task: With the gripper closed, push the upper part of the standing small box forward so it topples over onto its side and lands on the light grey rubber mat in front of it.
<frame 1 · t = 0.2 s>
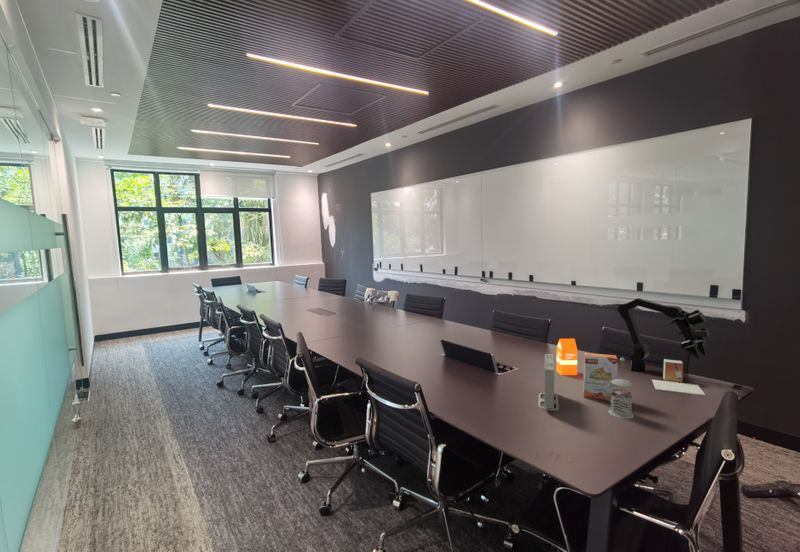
hand: (702, 356, 201), 15 cm above the table, tool tilted 30°, fingers open, 9 cm apart
french press: (618, 413, 171), on the table
network device: (548, 402, 184), on the table
cracker box: (599, 397, 188), on the table
grey mat: (677, 387, 198), on the table
small box: (672, 380, 209), on the table
orange juice: (566, 373, 224), on the table
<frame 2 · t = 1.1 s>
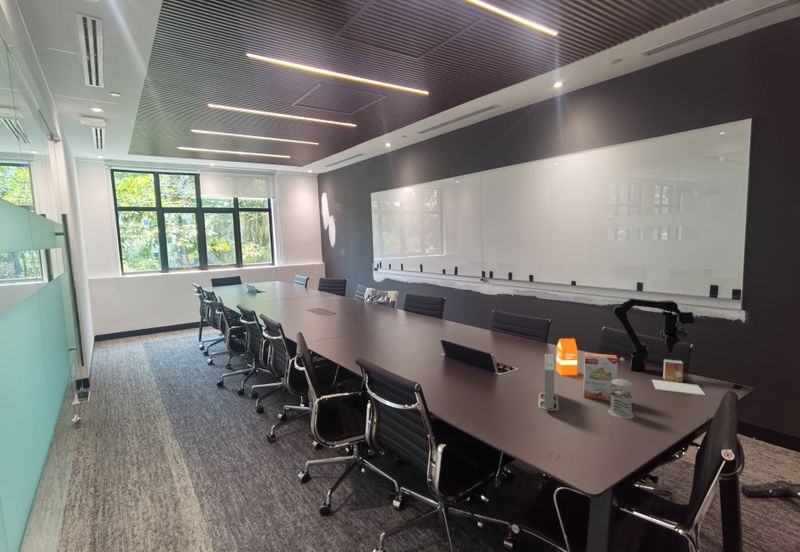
hand: (669, 350, 218), 13 cm above the table, tool pointing down, fingers open, 7 cm apart
nothing on the table moved.
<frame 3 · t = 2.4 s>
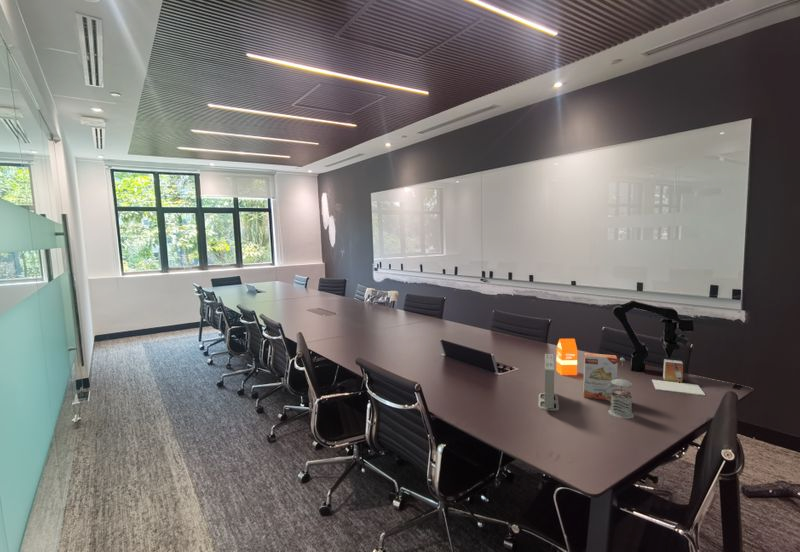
hand: (668, 357, 218), 9 cm above the table, tool pointing down, fingers closed
nothing on the table moved.
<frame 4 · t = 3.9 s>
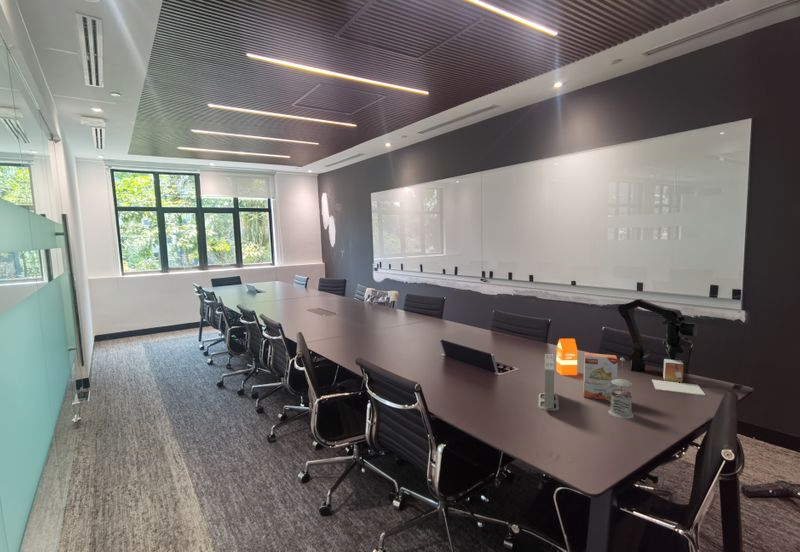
hand: (672, 361, 210), 9 cm above the table, tool pointing down, fingers closed
small box: (672, 380, 209), on the table, touching gripper
everything else where it was.
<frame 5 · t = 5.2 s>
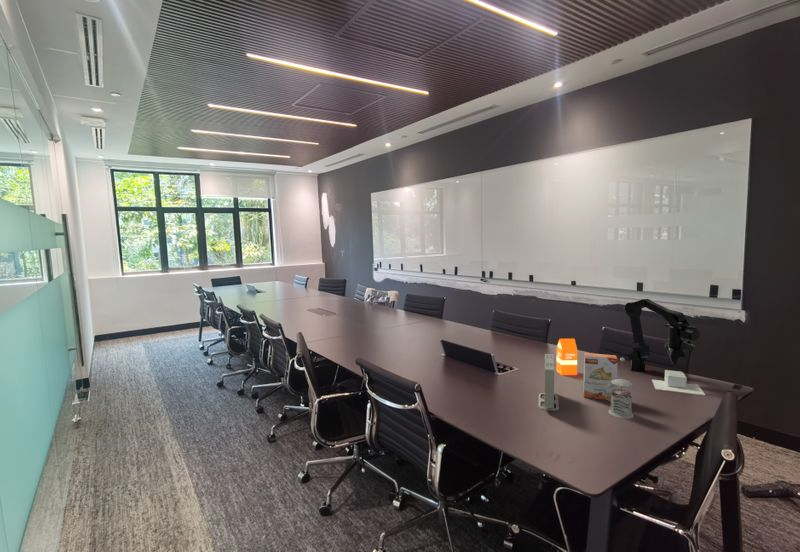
hand: (674, 365, 205), 9 cm above the table, tool pointing down, fingers closed
small box: (673, 375, 206), point 3 cm above the table, touching grey mat
everything else where it was.
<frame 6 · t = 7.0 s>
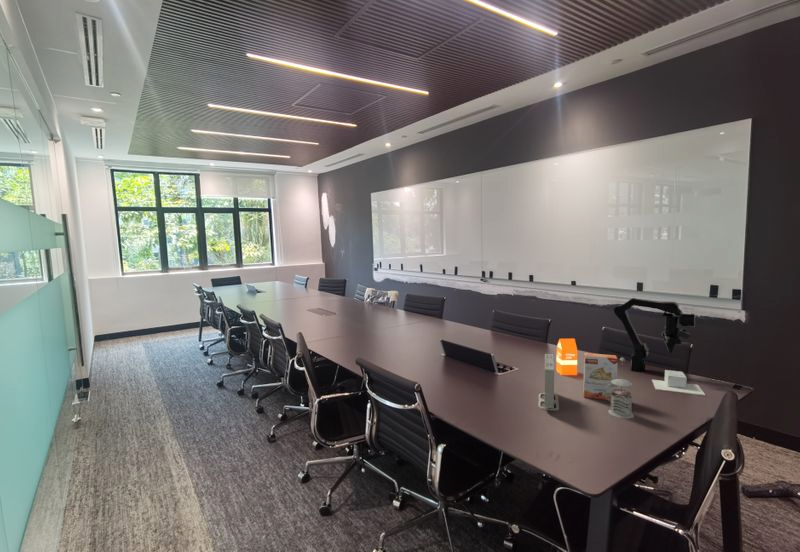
hand: (670, 352, 215), 13 cm above the table, tool pointing down, fingers closed
nothing on the table moved.
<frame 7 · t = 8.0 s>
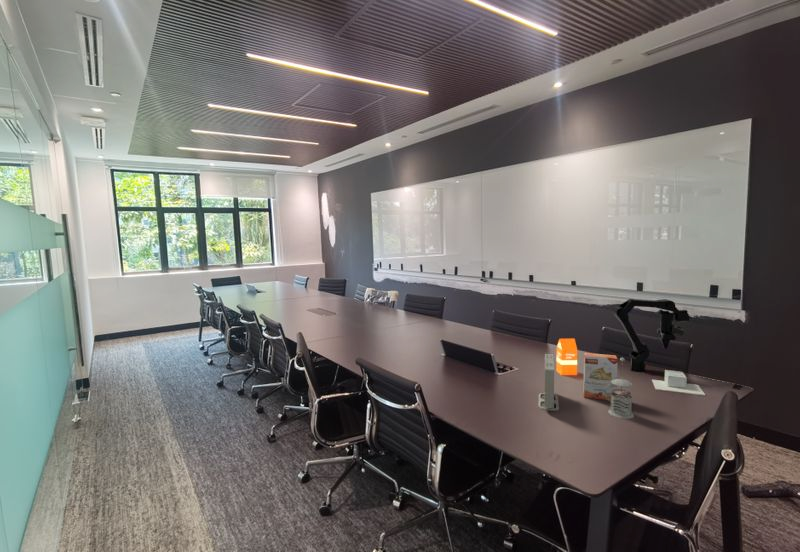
hand: (665, 348, 222), 13 cm above the table, tool pointing down, fingers closed
nothing on the table moved.
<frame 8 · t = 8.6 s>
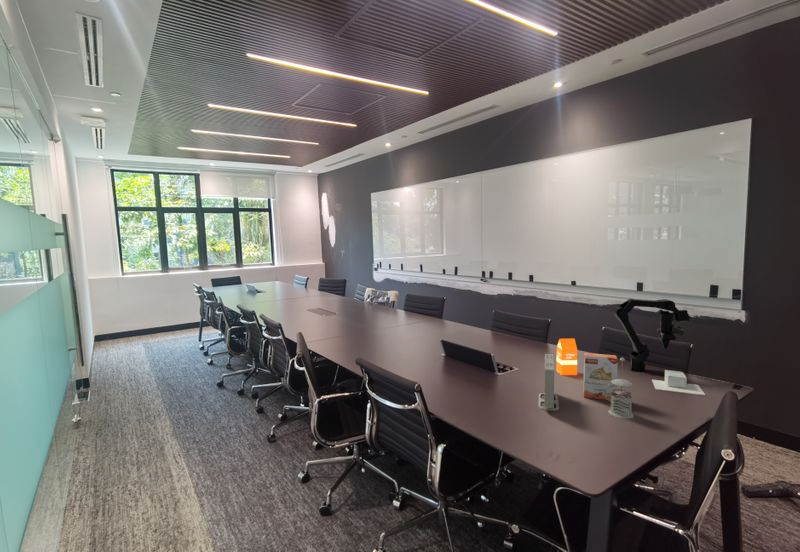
hand: (665, 348, 222), 13 cm above the table, tool pointing down, fingers closed
nothing on the table moved.
at the end: small box tilted 90°; small box touching grey mat; the gripper is holding nothing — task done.
